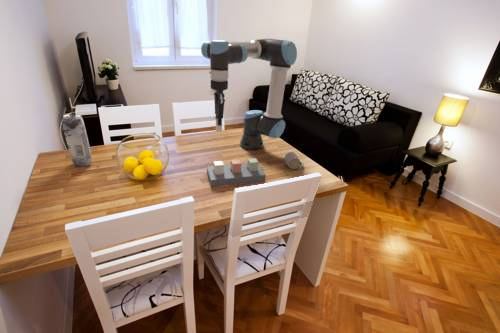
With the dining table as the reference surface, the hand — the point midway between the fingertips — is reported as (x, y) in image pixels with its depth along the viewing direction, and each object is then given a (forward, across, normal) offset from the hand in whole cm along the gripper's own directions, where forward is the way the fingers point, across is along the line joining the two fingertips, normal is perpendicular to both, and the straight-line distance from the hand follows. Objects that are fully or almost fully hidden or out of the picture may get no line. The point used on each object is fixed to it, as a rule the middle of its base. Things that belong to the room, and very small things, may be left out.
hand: (218, 130), depth 131 cm
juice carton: (+27, -29, -68) cm, 79 cm away
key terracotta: (+24, 0, +9) cm, 26 cm away
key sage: (+24, 0, +18) cm, 30 cm away
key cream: (+24, 0, 0) cm, 24 cm away
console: (+26, 0, +9) cm, 28 cm away
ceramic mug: (+27, -6, +45) cm, 53 cm away
